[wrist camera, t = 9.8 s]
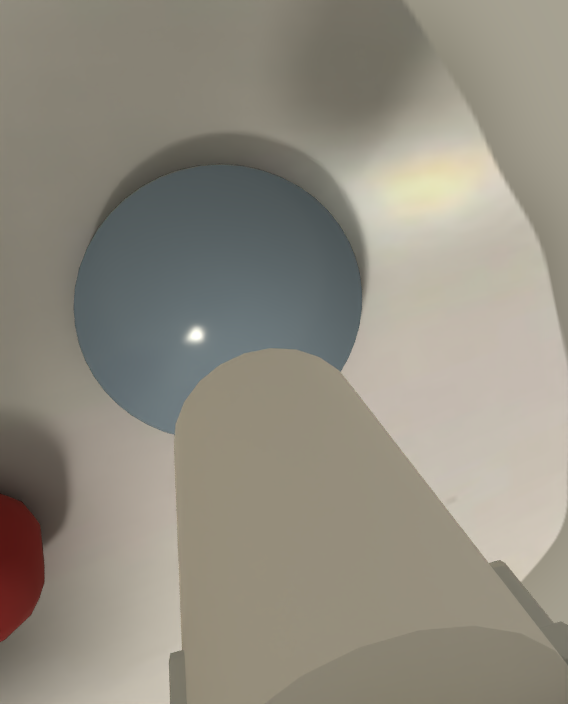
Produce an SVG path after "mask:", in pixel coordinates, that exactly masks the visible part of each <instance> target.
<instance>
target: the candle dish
mask: <svg viewBox="0 0 568 704" xmlns="http://www.w3.org/2000/svg"><path fill="white" fill-rule="evenodd" d="M361 310H362V288H361V280H360V273H359V269H358V265H357V262H356V258H355V255H354V253H353V250H352V248H351V245H350V243H349V241H348V239H347V237H346V236H345V234H344V232H343V230H342V229H341V227H340V225H339V224H338V223H337V222H336V220H335V219H334V218H333V216H332V215H331V214H330V213H329V211H328V210H327V209H326V208H325V207H323V206H322V205H321V204H320V203H319V202H318V201H317V200H316V199H315V198H314V197H313V196H311V195H310V194H308V193H307V192H306V191H304V190H303V189H301V188H300V187H299V186H297V185H295V184H293V183H291V182H289V181H287V180H285V179H283V178H281V177H279V176H277V175H274V174H271V173H268V172H265V171H263V170H260V169H255V168H251V167H246V166H241V165H228V164H212V165H199V166H194V167H189V168H185V169H180V170H177V171H174V172H171V173H169V174H166V175H163V176H160V177H158V178H157V179H155V180H153V181H151V182H149V183H147V184H145V185H143V186H142V187H140V188H139V189H137V190H136V191H135V192H133V193H132V194H130V195H129V196H128V197H126V198H125V199H124V200H123V201H122V202H121V203H120V204H119V205H118V206H117V207H116V208H115V209H114V210H113V211H112V212H111V213H110V214H109V215H108V216H107V218H106V219H105V220H104V222H103V223H102V224H101V225H100V227H99V228H98V230H97V232H96V233H95V235H94V237H93V239H92V240H91V242H90V244H89V246H88V248H87V250H86V252H85V255H84V257H83V260H82V263H81V265H80V268H79V272H78V277H77V281H76V285H75V295H74V318H75V328H76V332H77V337H78V341H79V345H80V347H81V350H82V353H83V355H84V358H85V361H86V363H87V364H88V366H89V368H90V370H91V372H92V374H93V375H94V377H95V378H96V380H97V381H98V383H99V384H100V385H101V387H102V388H103V389H104V391H105V392H106V393H107V394H108V395H109V396H110V397H111V398H112V399H113V400H114V401H115V402H116V403H117V404H118V405H119V406H121V407H122V408H123V409H124V410H126V411H127V412H128V413H129V414H131V415H132V416H134V417H136V418H137V419H139V420H141V421H142V422H144V423H146V424H148V425H150V426H152V427H154V428H157V429H159V430H161V431H164V432H167V433H170V434H174V435H175V425H176V422H177V419H178V417H179V414H180V412H181V409H182V406H183V404H184V401H185V400H186V399H187V397H188V396H189V395H190V393H191V392H192V391H193V389H194V388H195V387H196V385H197V384H198V383H199V381H200V380H202V379H203V378H204V377H205V376H207V375H208V374H209V373H210V372H212V371H213V370H214V369H215V368H217V367H218V366H219V365H220V364H223V363H225V362H227V361H229V360H231V359H233V358H235V357H238V356H240V355H242V354H244V353H249V352H254V351H259V350H264V349H269V348H277V349H295V350H299V351H302V352H305V353H308V354H311V355H315V356H318V357H320V358H322V359H323V360H324V361H326V362H327V363H329V364H330V365H332V366H333V367H335V368H336V369H338V370H339V371H340V372H341V370H342V368H343V366H344V364H345V363H346V361H347V359H348V357H349V355H350V353H351V350H352V348H353V345H354V343H355V340H356V336H357V332H358V329H359V325H360V317H361Z"/></svg>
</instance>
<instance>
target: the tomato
mask: <svg viewBox="0 0 568 704" xmlns="http://www.w3.org/2000/svg"><path fill="white" fill-rule="evenodd" d="M43 585H44V557H43V547H42V538H41V529H40V524H39V522H38V521H37V520H36V518H35V517H34V516H33V514H32V513H31V512H30V511H29V510H28V508H27V507H26V506H25V505H24V504H23V502H21V501H19V500H16V499H14V498H11V497H9V496H6V495H3V494H0V642H1V641H3V640H5V639H6V638H7V637H8V636H9V635H10V634H11V633H12V632H13V631H14V630H16V629H17V628H18V627H19V626H20V625H21V624H22V623H23V622H24V621H25V620H26V619H27V618H28V617H29V616H30V615H31V614H32V612H33V610H34V608H35V606H36V604H37V602H38V600H39V598H40V594H41V591H42V588H43Z"/></svg>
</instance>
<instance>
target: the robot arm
mask: <svg viewBox="0 0 568 704" xmlns="http://www.w3.org/2000/svg"><path fill="white" fill-rule="evenodd" d="M489 564H490V565H491V567H492V568H493V569H494V571H495V572H496V573H497V574H498V576H499V577H500V578H501V580H502V581H503V582H504V584H505V585H506V586H507V587H508V589H509V590H510V591H511V593H512V594H513V595H514V596H515V598H516V599H517V600H518V602H519V603H520V604H521V605H522V607H523V608H524V609H525V611H526V612H527V613H528V615H529V616H530V617H531V618H532V620H533V621H534V622H535V624H536V625H537V626H538V627H539V629H540V630H541V631H542V633H543V634H544V635H545V636H546V638H547V639H548V640H549V642H550V643H551V644H552V645H553V647H554V648H555V649H556V651H557V652H558V653H559V655H560V656H561V657H562V658H563V660H564V661H565V662H566V664H567V665H568V625H567V624H564V623H563V622H557V623H553V621H552V620H551V619H550V618H549V617H548V615H547V614H546V613H545V611H544V610H543V609H542V608H541V607H540V605H539V604H538V603H537V602H536V600H535V599H534V598H533V597H532V596H531V594H530V593H529V592H528V591H527V589H526V588H525V587H524V586H523V584H522V583H521V582H520V581H519V580H518V578H517V577H516V576H515V575H514V573H513V572H512V571H511V570H510V569H509V567H508V566H507V565H506V564H505V563H504V562H502V561H501V560H498V561H494V562H491V563H489ZM169 682H170V704H187V699H186V676H185V655H184V650H181V651H177V652H173V653H170V659H169Z"/></svg>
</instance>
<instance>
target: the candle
mask: <svg viewBox="0 0 568 704" xmlns="http://www.w3.org/2000/svg"><path fill="white" fill-rule="evenodd" d="M174 463H175V488H176V512H177V537H178V562H179V587H180V612H181V636H182V650H184V655H185V676H186V699H187V704H568V665H567V664H566V662H565V661H564V660H563V658H562V657H561V656H560V655H559V653H558V652H557V651H556V649H555V648H554V647H553V645H552V644H551V643H550V642H549V640H548V639H547V638H546V636H545V635H544V634H543V633H542V631H541V630H540V629H539V627H538V626H537V625H536V624H535V622H534V621H533V620H532V618H531V617H530V616H529V615H528V613H527V612H526V611H525V609H524V608H523V607H522V605H521V604H520V603H519V602H518V600H517V599H516V598H515V596H514V595H513V594H512V593H511V591H510V590H509V589H508V587H507V586H506V585H505V584H504V582H503V581H502V580H501V578H500V577H499V576H498V574H497V573H496V572H495V571H494V569H493V568H492V567H491V565H490V564H489V563H488V562H487V560H486V559H485V558H484V556H483V555H482V554H481V553H480V551H479V550H478V549H477V547H476V546H475V545H474V544H473V542H472V541H471V540H470V538H469V537H468V536H467V534H466V533H465V532H464V531H463V529H462V528H461V527H460V525H459V524H458V523H457V522H456V520H455V519H454V518H453V516H452V515H451V514H450V513H449V511H448V510H447V509H446V507H445V506H444V505H443V503H442V502H441V501H440V500H439V498H438V497H437V496H436V494H435V493H434V492H433V491H432V489H431V488H430V487H429V485H428V484H427V483H426V482H425V480H424V479H423V478H422V476H421V475H420V474H419V473H418V471H417V470H416V469H415V467H414V466H413V465H412V463H411V462H410V461H409V460H408V458H407V457H406V456H405V454H404V453H403V452H402V451H401V449H400V448H399V447H398V445H397V444H396V443H395V442H394V440H393V439H392V438H391V436H390V435H389V434H388V432H387V431H386V430H385V429H384V427H383V426H382V425H381V423H380V422H379V421H378V420H377V418H376V417H375V416H374V414H373V413H372V412H371V411H370V409H369V408H368V407H367V405H366V404H365V403H364V402H363V400H362V399H361V398H360V396H359V395H358V394H357V392H356V391H355V390H354V389H353V387H352V386H351V385H350V384H349V382H348V381H347V380H346V379H345V377H344V376H343V375H342V374H341V372H340V371H339V370H338V369H336V368H335V367H333V366H332V365H330V364H329V363H327V362H326V361H324V360H323V359H322V358H320V357H318V356H315V355H311V354H308V353H305V352H302V351H299V350H295V349H277V348H269V349H264V350H259V351H254V352H249V353H244V354H242V355H240V356H238V357H235V358H233V359H231V360H229V361H227V362H225V363H223V364H220V365H219V366H218V367H217V368H215V369H214V370H213V371H212V372H210V373H209V374H208V375H207V376H205V377H204V378H203V379H202V380H200V381H199V383H198V384H197V385H196V387H195V388H194V389H193V391H192V392H191V393H190V395H189V396H188V397H187V399H186V400H185V401H184V404H183V406H182V409H181V412H180V414H179V417H178V419H177V422H176V425H175V439H174Z"/></svg>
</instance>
